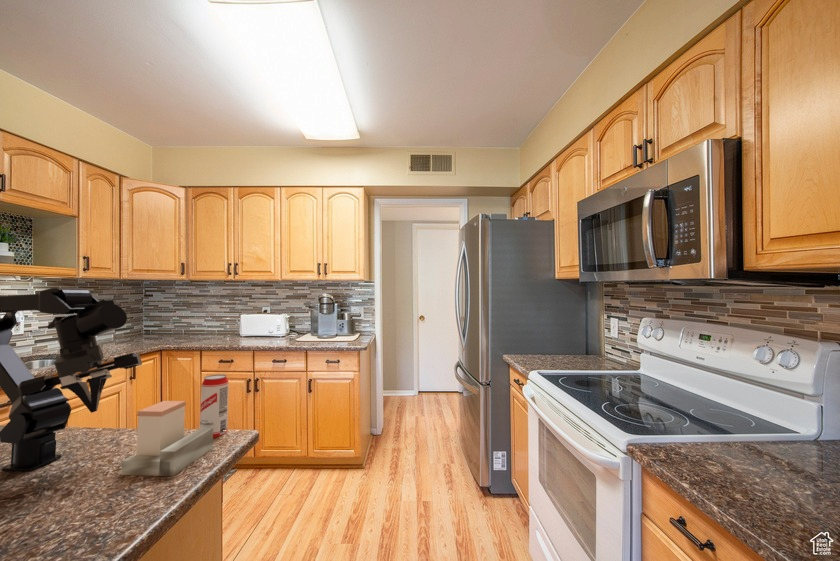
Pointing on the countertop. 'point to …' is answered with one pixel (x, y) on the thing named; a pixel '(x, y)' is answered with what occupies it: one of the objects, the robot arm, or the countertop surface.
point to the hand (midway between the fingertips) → (94, 411)
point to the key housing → (171, 456)
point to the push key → (160, 427)
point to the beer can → (214, 404)
